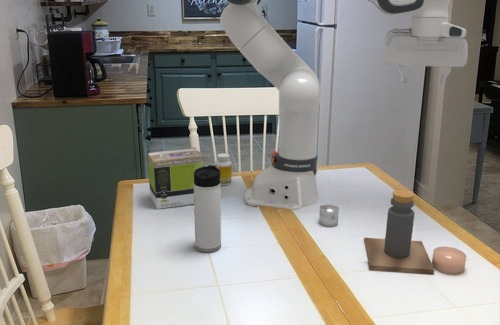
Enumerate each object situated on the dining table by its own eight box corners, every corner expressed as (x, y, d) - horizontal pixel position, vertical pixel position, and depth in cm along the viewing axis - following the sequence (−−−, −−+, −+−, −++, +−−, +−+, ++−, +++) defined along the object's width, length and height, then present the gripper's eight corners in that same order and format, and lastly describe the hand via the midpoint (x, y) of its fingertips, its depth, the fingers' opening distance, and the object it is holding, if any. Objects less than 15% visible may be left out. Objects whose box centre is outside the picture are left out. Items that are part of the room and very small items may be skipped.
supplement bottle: (211, 183, 167) (211, 155, 164) (223, 179, 171) (223, 151, 168) (223, 187, 164) (223, 158, 161) (235, 183, 168) (235, 155, 165)
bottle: (410, 259, 117) (418, 198, 112) (384, 256, 118) (390, 196, 113) (408, 248, 122) (415, 189, 118) (383, 245, 124) (389, 187, 119)
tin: (327, 230, 134) (328, 212, 132) (315, 223, 138) (316, 206, 136) (341, 226, 136) (342, 209, 135) (329, 220, 140) (330, 203, 139)
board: (369, 270, 115) (369, 265, 114) (363, 241, 128) (364, 237, 128) (433, 274, 113) (434, 269, 113) (421, 245, 126) (421, 241, 126)
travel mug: (225, 243, 127) (225, 166, 120) (215, 254, 121) (214, 175, 114) (202, 239, 128) (200, 163, 122) (190, 250, 123) (188, 171, 116)
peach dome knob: (435, 274, 114) (437, 260, 112) (428, 259, 120) (430, 245, 119) (468, 276, 113) (470, 262, 112) (459, 261, 119) (461, 247, 118)
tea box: (197, 192, 160) (196, 146, 155) (206, 203, 151) (205, 155, 146) (149, 197, 155) (147, 151, 150) (155, 210, 146) (153, 160, 141)
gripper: (388, 28, 128) (383, 84, 132) (473, 30, 125) (465, 86, 130) (385, 27, 134) (380, 80, 138) (466, 28, 131) (458, 82, 136)
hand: (422, 83), depth 134 cm, fingers open, 8 cm apart
